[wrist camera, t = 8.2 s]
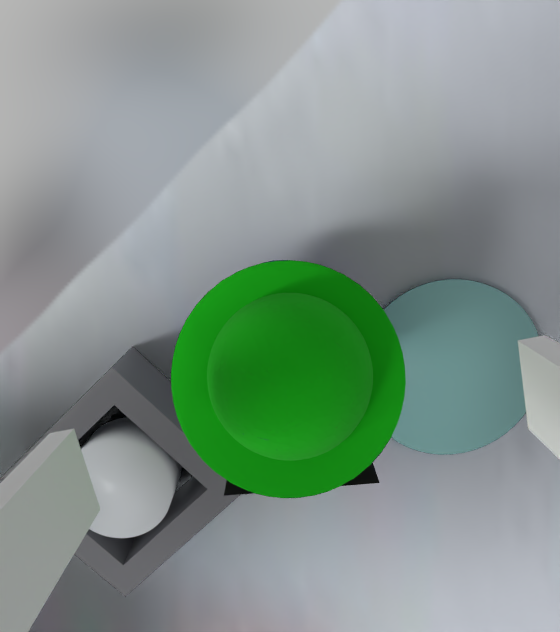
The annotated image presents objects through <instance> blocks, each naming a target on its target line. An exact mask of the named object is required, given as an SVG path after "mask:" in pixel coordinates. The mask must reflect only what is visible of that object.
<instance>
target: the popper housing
mask: <svg viewBox="0 0 560 632" xmlns="http://www.w3.org/2000/svg"><path fill="white" fill-rule="evenodd" d="M114 405H115V406H116V407H117V408H118V409H119V410H120V411H121V412H123V413H124V414H125V415H126V416H127V417H128V418H129V419H130V420H131V421H132V422H134V423H135V424H136V425H137V426H138V427H139V428H140V429H141V430H142V431H144V432H145V433H146V434H147V435H148V436H149V437H150V438H151V439H152V440H154V441H155V442H156V443H157V444H158V445H159V446H160V447H161V448H162V449H164V450H165V451H166V452H167V453H168V454H169V455H170V456H171V457H172V458H173V459H175V460H176V461H177V462H178V463H179V464H180V465H181V466H182V467H183V468H185V469H186V470H187V471H188V472H189V473H190V474H191V475H192V476H193V477H192V478H191V479H190V480H188V481H187V482H186V483H185V484H184V485H183V486H182V487H181V488H180V489H179V490H177V491H176V492H175V493H174V496H173V498H172V501H171V504H170V507H169V510H168V511H167V513H166V515H165V517H164V518H163V519H162V521H161V522H160V523H159V524H158V525H157V526H155V527H154V528H153V529H151V530H150V531H148V532H146V533H144V534H142V535H139V536H135V537H130V538H112V537H107V536H104V535H100V534H98V533H96V532H93V531H92V530H90V529H89V530H88V531H87V533H86V535H85V537H84V538H83V540H82V542H81V543H80V545H79V547H78V548H77V550H76V552H75V554H74V555H76V556H77V557H78V558H79V559H80V560H82V561H83V562H84V563H85V564H86V565H88V566H89V567H90V568H91V569H92V570H94V571H95V572H96V573H97V574H98V575H100V576H101V577H102V578H103V579H104V580H106V581H107V582H108V583H109V584H110V585H112V586H113V587H114V588H115V589H117V590H118V591H119V592H120V593H121V594H123V595H124V596H125V597H126V596H127V595H128V594H129V593H130V592H131V591H132V590H134V589H135V588H136V587H137V586H138V585H139V584H140V583H141V582H143V581H144V580H145V579H146V578H147V577H148V576H149V575H150V574H152V573H153V572H154V571H155V570H156V569H157V568H158V567H159V566H161V565H162V564H163V563H164V562H165V561H166V560H167V559H168V558H170V557H171V556H172V555H173V554H174V553H175V552H176V551H177V550H179V549H180V548H181V547H182V546H183V545H184V544H185V543H186V542H188V541H189V540H190V539H191V538H192V537H193V536H194V535H195V534H197V533H198V532H199V531H200V530H201V529H202V528H203V527H204V526H206V525H207V524H208V523H209V522H210V521H211V520H212V519H213V518H215V517H216V516H217V515H218V514H219V513H220V512H221V511H222V510H224V509H225V508H226V507H227V506H228V505H229V504H230V503H231V502H233V501H234V500H235V499H236V498H237V497H238V496H239V495H240V494H239V495H227V496H224V491H225V486H226V481H227V480H226V479H224V478H223V477H222V476H220V475H219V474H217V473H216V472H215V471H214V470H212V469H211V468H210V467H209V466H208V465H207V464H206V463H205V462H204V461H203V460H202V459H201V457H200V456H199V455H198V454H197V452H196V451H195V450H194V449H193V447H192V446H191V445H190V443H189V441H188V439H187V437H186V436H185V434H184V432H183V430H182V428H181V425H180V423H179V420H178V418H177V414H176V411H175V407H174V403H173V396H172V389H171V382H170V381H169V380H168V379H167V378H166V377H165V376H164V375H163V374H162V373H161V372H160V371H158V370H157V369H156V368H155V367H154V366H153V365H152V364H151V363H150V362H149V361H148V360H147V359H146V358H145V357H143V356H142V355H141V354H140V353H139V352H138V351H137V350H136V349H135V348H134V347H132V348H131V349H130V350H129V351H128V352H127V353H126V354H125V355H124V356H123V357H122V358H121V359H120V360H119V361H118V362H117V363H116V364H114V365H113V366H112V367H111V368H110V369H109V370H108V371H107V372H106V373H105V374H104V375H103V376H102V377H101V378H100V379H99V380H98V381H97V382H96V383H95V384H94V385H93V386H92V387H91V388H90V389H89V390H88V391H87V392H86V393H85V394H84V395H83V396H82V397H81V398H80V399H79V400H78V401H77V402H76V403H75V404H74V405H73V406H72V407H71V408H70V409H69V410H68V411H67V412H66V413H65V414H64V415H63V416H62V417H61V418H60V419H59V420H58V421H57V422H56V423H55V424H54V425H53V426H52V427H51V428H50V429H49V430H48V431H47V432H46V433H45V434H44V435H43V436H42V437H41V438H40V439H39V440H38V441H37V442H36V443H35V444H34V445H33V446H32V447H31V448H30V449H29V450H28V451H27V452H26V453H25V454H24V455H23V456H22V457H21V458H20V459H19V460H18V461H17V462H16V463H15V464H14V465H13V466H12V467H11V468H10V469H9V470H8V471H7V472H6V473H5V474H4V475H3V476H2V477H1V478H0V483H1V482H2V481H3V480H4V479H5V478H6V477H7V476H8V475H9V474H10V473H11V472H12V471H13V470H14V469H15V468H16V467H17V466H18V465H19V464H20V463H21V462H22V461H23V460H24V459H25V458H26V457H27V456H28V455H29V454H30V453H31V452H32V451H33V450H34V449H35V448H36V447H37V446H38V445H39V444H40V443H41V441H42V440H43V439H44V438H45V437H46V436H47V435H48V434H49V433H54V432H59V431H64V430H69V429H74V430H75V433H76V436H77V439H78V440H79V439H80V438H81V437H82V436H83V435H84V434H85V433H86V432H87V431H88V430H89V429H90V428H91V427H92V426H93V425H94V424H95V423H96V422H97V421H98V420H99V419H100V418H101V417H102V416H103V415H104V414H105V413H106V412H108V411H109V410H110V409H111V408H112V407H113V406H114Z"/></svg>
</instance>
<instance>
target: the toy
mask: <svg viewBox="0 0 560 632" xmlns="http://www.w3.org/2000/svg"><path fill="white" fill-rule="evenodd" d="M405 385H406V378H405V364H404V358H403V352H402V349H401V345H400V342H399V339H398V336H397V334H396V332H395V329H394V327H393V325H392V323H391V322H390V320H389V318H388V316H387V315H386V313H385V311H384V310H383V309H382V308H381V306H380V305H379V304H378V303H377V302H376V300H375V299H374V298H373V297H372V296H371V295H370V294H369V293H368V292H367V291H366V290H365V289H364V288H362V287H361V286H360V285H359V284H357V283H356V282H354V281H353V280H351V279H350V278H348V277H347V276H345V275H344V274H341V273H339V272H337V271H335V270H333V269H331V268H328V267H325V266H322V265H319V264H314V263H309V262H304V261H293V260H277V261H270V262H265V263H261V264H258V265H254V266H251V267H248V268H246V269H243V270H241V271H238V272H236V273H235V274H233V275H231V276H229V277H228V278H226V279H224V280H222V281H221V282H220V283H219V284H217V285H216V286H215V287H214V288H213V289H211V290H210V291H209V292H208V293H207V294H206V295H205V296H204V297H203V298H202V299H201V300H200V301H199V303H198V304H197V305H196V306H195V308H194V309H193V311H192V312H191V314H190V315H189V317H188V318H187V320H186V322H185V324H184V326H183V328H182V330H181V332H180V334H179V337H178V340H177V343H176V346H175V351H174V355H173V360H172V370H171V389H172V396H173V403H174V407H175V411H176V414H177V418H178V420H179V423H180V425H181V428H182V430H183V432H184V434H185V436H186V437H187V439H188V441H189V443H190V445H191V446H192V447H193V449H194V450H195V451H196V452H197V454H198V455H199V456H200V457H201V459H202V460H203V461H204V462H205V463H206V464H207V465H208V466H209V467H210V468H211V469H212V470H214V471H215V472H216V473H217V474H219V475H220V476H222V477H223V478H224V479H226V480H227V481H226V486H225V491H224V496H227V495H239V494H251V493H256V494H260V495H265V496H269V497H278V498H300V497H307V496H313V495H317V494H321V493H324V492H328V491H330V490H332V489H335V488H337V487H339V486H346V485H358V484H370V483H379V480H378V477H377V474H376V471H375V468H374V466H373V463H372V462H373V461H374V460H375V459H376V458H377V457H378V456H379V454H380V453H381V452H382V451H383V449H384V447H385V446H386V444H387V443H388V441H389V440H390V438H391V437H392V434H393V432H394V430H395V428H396V425H397V423H398V421H399V417H400V414H401V411H402V407H403V402H404V397H405Z"/></svg>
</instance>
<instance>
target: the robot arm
mask: <svg viewBox="0 0 560 632" xmlns="http://www.w3.org/2000/svg"><path fill="white" fill-rule="evenodd" d="M518 347H519V356H520V364H521V373H522V381H523V390H524V398H525V407H526V415H527V424H528V429H529V430H530V431H531V432H532V433H533V434H534V435H535V436H536V437H537V438H538V439H539V440H540V441H541V442H542V443H543V444H544V445H545V446H546V447H547V448H548V449H549V450H550V451H551V452H552V453H553V454H554V455H555V456H556V457H557V458H558V459H559V460H560V343H559V342H557V341H555V340H553V339H551V338H549V337H548V336H546V335H543V336H538V337H533V338H528V339H523V340H518ZM99 511H100V506H99V503H98V500H97V497H96V494H95V491H94V488H93V485H92V482H91V479H90V476H89V473H88V470H87V467H86V464H85V460H84V457H83V454H82V451H81V448H80V445H79V442H78V439H77V436H76V433H75V430H74V429H69V430H64V431H59V432H54V433H49V434H48V435H47V436H46V437H45V438H44V439H43V440H42V441H41V443H40V444H39V445H38V446H37V447H36V448H35V449H34V450H33V451H32V452H31V453H30V454H29V455H28V456H27V457H26V458H25V459H24V460H23V461H22V462H21V463H20V464H19V465H18V466H17V467H16V468H15V469H14V470H13V471H12V472H11V473H10V474H9V475H8V476H7V477H6V478H5V479H4V480H3V481H2V482H1V483H0V632H29V630H30V628H31V626H32V625H33V623H34V621H35V620H36V618H37V616H38V615H39V613H40V611H41V610H42V608H43V606H44V604H45V603H46V601H47V599H48V598H49V596H50V594H51V593H52V591H53V589H54V587H55V586H56V584H57V582H58V581H59V579H60V577H61V576H62V574H63V572H64V570H65V569H66V567H67V565H68V564H69V562H70V560H71V559H72V557H73V555H74V554H75V552H76V550H77V548H78V547H79V545H80V543H81V542H82V540H83V538H84V537H85V535H86V533H87V531H88V530H89V528H90V526H91V525H92V523H93V521H94V520H95V518H96V516H97V514H98V513H99Z"/></svg>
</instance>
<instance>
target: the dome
mask: <svg viewBox="0 0 560 632" xmlns="http://www.w3.org/2000/svg"><path fill="white" fill-rule="evenodd" d="M81 451H82V454H83V457H84V460H85V464H86V467H87V470H88V473H89V476H90V479H91V482H92V485H93V488H94V491H95V494H96V497H97V500H98V503H99V506H100V511H99V513H98V514H97V516H96V518H95V520H94V521H93V523H92V525H91V526H90V528H89V529H90V530H92V531H93V532H96V533H98V534H100V535H104V536H107V537H112V538H130V537H135V536H139V535H142V534H144V533H146V532H148V531H150V530H151V529H153V528H154V527H155V526H157V525H158V524H159V523H160V522H161V521H162V519H163V518H164V517H165V515H166V513H167V511H168V510H169V507H170V504H171V501H172V498H173V496H174V493H175V490H176V487H177V484H178V482H179V479H180V476H181V470H182V466H181V465H180V464H179V463H178V462H177V461H176V460H175V459H173V458H172V457H171V456H170V455H169V454H168V453H167V452H166V451H165V450H164V449H162V448H161V447H160V446H159V445H158V444H157V443H156V442H155V441H154V440H152V439H151V438H150V437H149V436H148V435H147V434H146V433H145V432H144V431H142V430H141V429H140V428H139V427H138V426H137V425H136V424H135V423H134V422H132V421H131V420H130V419H129V418H121V419H116V420H113V421H110V422H108V423H106V424H104V425H103V426H101V427H100V428H98V429H97V430H96V431H95V432H94V433H93V434H92V435H91V437H90V438H89V439H88V441H87V442H86V443H85V444H84V446H83V447H82V448H81Z"/></svg>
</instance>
